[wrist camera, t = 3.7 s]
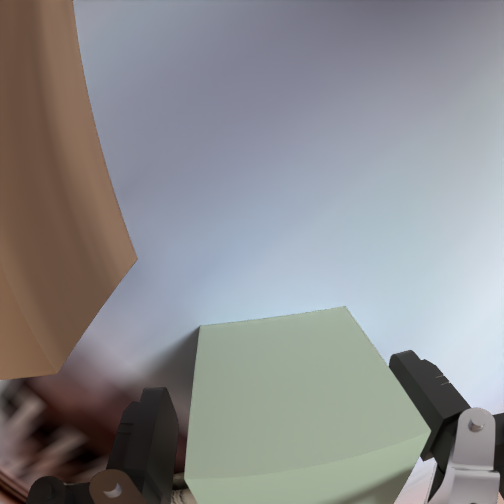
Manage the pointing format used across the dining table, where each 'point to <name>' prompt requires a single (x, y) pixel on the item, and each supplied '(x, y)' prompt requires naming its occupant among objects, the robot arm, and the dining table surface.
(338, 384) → the sage block
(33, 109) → the walnut base
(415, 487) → the dining table surface
